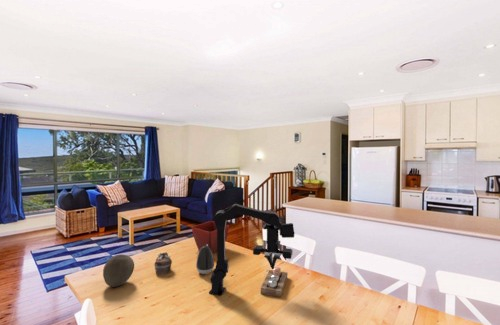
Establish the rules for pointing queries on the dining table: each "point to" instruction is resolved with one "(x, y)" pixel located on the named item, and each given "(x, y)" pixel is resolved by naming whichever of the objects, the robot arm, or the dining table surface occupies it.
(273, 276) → the plug metal mid
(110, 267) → the dark grey stone
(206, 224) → the plant pot
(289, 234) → the robot arm
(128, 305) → the dining table surface
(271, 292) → the brown wooden tray
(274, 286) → the plug metal near
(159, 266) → the cupcake
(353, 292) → the dining table surface
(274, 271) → the peach egg-shaped piece
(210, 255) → the dark grey ovoid piece
